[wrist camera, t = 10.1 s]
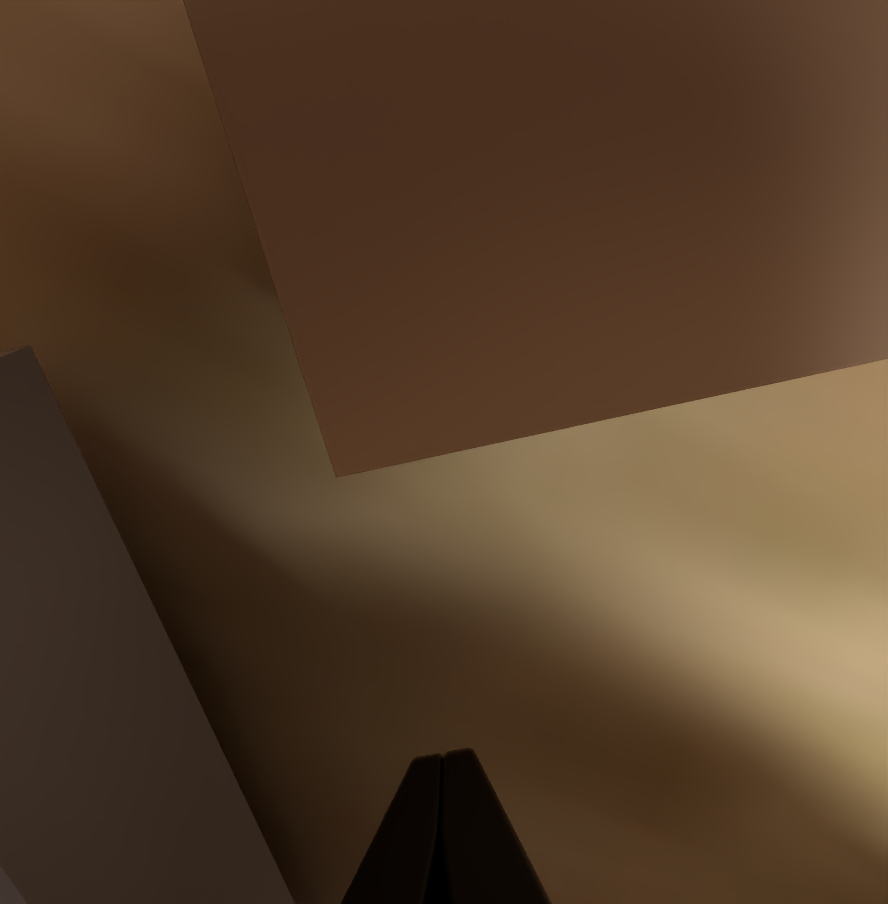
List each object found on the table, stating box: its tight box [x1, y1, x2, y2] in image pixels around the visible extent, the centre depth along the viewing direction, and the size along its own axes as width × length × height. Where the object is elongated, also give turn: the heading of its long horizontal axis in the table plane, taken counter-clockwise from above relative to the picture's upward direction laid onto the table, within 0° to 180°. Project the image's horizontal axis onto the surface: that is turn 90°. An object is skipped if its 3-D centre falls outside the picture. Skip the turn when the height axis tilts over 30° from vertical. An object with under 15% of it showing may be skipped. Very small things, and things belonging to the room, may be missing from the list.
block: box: [183, 0, 888, 478], centre depth 6 cm, size 5×5×4 cm
